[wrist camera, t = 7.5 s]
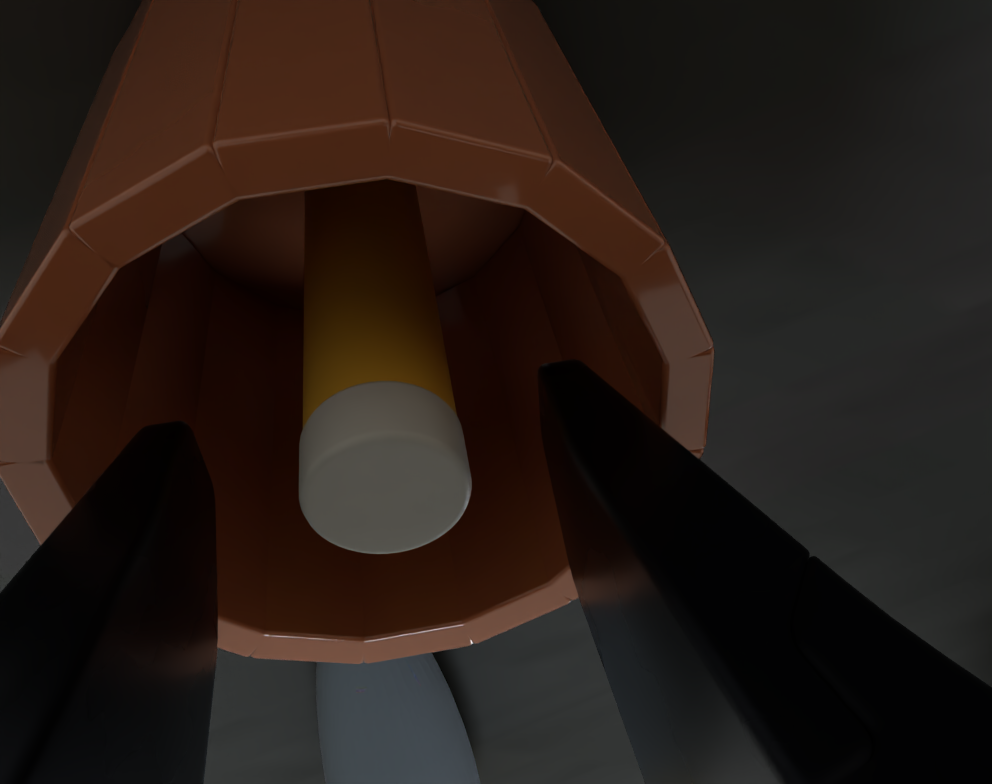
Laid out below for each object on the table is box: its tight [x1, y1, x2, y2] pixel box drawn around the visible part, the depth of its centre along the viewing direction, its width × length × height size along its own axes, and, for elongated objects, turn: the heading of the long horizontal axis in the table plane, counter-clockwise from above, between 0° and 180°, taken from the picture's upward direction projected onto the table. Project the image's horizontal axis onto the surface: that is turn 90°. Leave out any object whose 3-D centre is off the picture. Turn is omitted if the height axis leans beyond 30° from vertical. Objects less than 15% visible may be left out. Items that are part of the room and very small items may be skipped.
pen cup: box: [0, 0, 715, 664], centre depth 12 cm, size 7×7×7 cm
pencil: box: [299, 179, 472, 554], centre depth 11 cm, size 2×2×7 cm
